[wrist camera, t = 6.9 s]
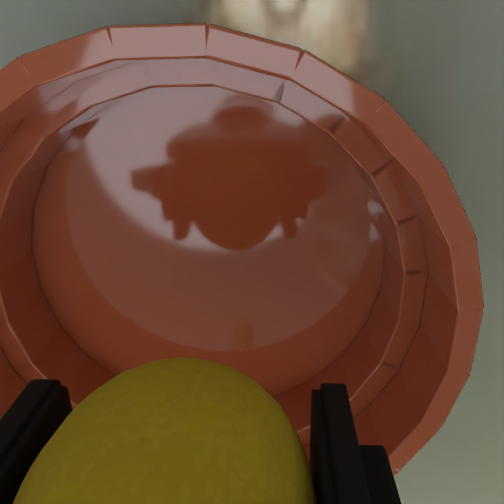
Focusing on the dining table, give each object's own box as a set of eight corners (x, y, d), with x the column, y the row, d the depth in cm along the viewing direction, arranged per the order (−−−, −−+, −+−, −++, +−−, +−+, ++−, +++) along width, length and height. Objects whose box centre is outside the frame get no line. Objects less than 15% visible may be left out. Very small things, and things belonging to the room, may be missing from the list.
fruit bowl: (449, 27, 15) (547, 13, 10) (395, 422, 21) (437, 538, 16) (-54, 40, 15) (-212, 33, 10) (46, 421, 22) (-20, 532, 17)
